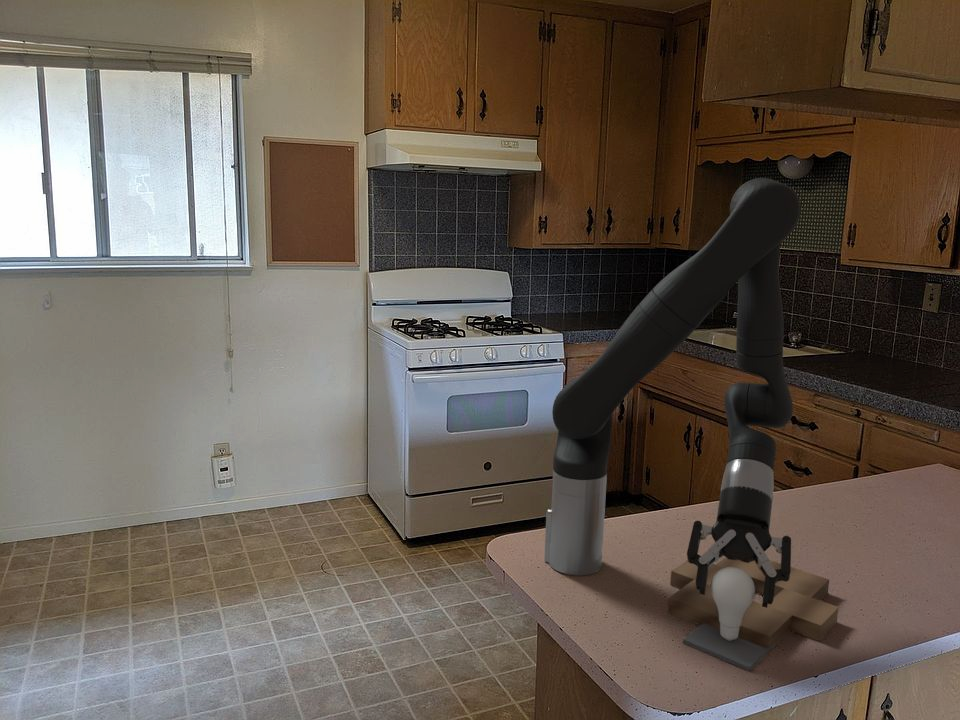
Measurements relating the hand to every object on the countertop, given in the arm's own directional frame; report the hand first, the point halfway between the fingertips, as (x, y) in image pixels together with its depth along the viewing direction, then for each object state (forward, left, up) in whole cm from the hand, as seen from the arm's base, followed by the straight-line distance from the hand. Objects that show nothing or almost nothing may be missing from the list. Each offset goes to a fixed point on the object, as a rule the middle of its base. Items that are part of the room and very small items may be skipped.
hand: (733, 599), depth 110 cm
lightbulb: (-1, +1, -7) cm, 7 cm away
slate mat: (0, +1, -8) cm, 8 cm away
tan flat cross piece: (-3, +15, -8) cm, 18 cm away
